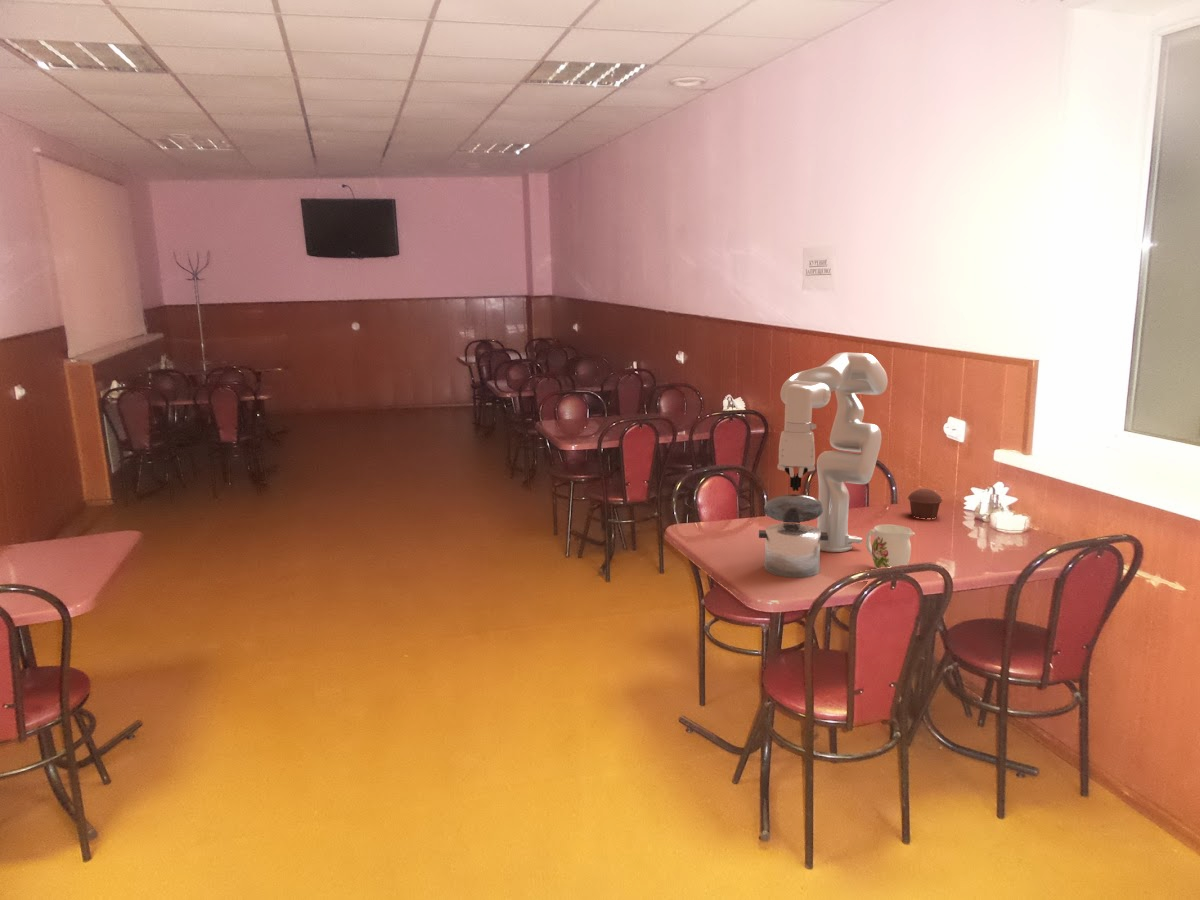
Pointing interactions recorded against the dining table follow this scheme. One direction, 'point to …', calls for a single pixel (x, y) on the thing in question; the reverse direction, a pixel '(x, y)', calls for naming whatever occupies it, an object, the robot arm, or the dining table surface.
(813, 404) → the robot arm
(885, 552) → the pitcher
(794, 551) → the cooker pot
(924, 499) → the muffin
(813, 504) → the lid
